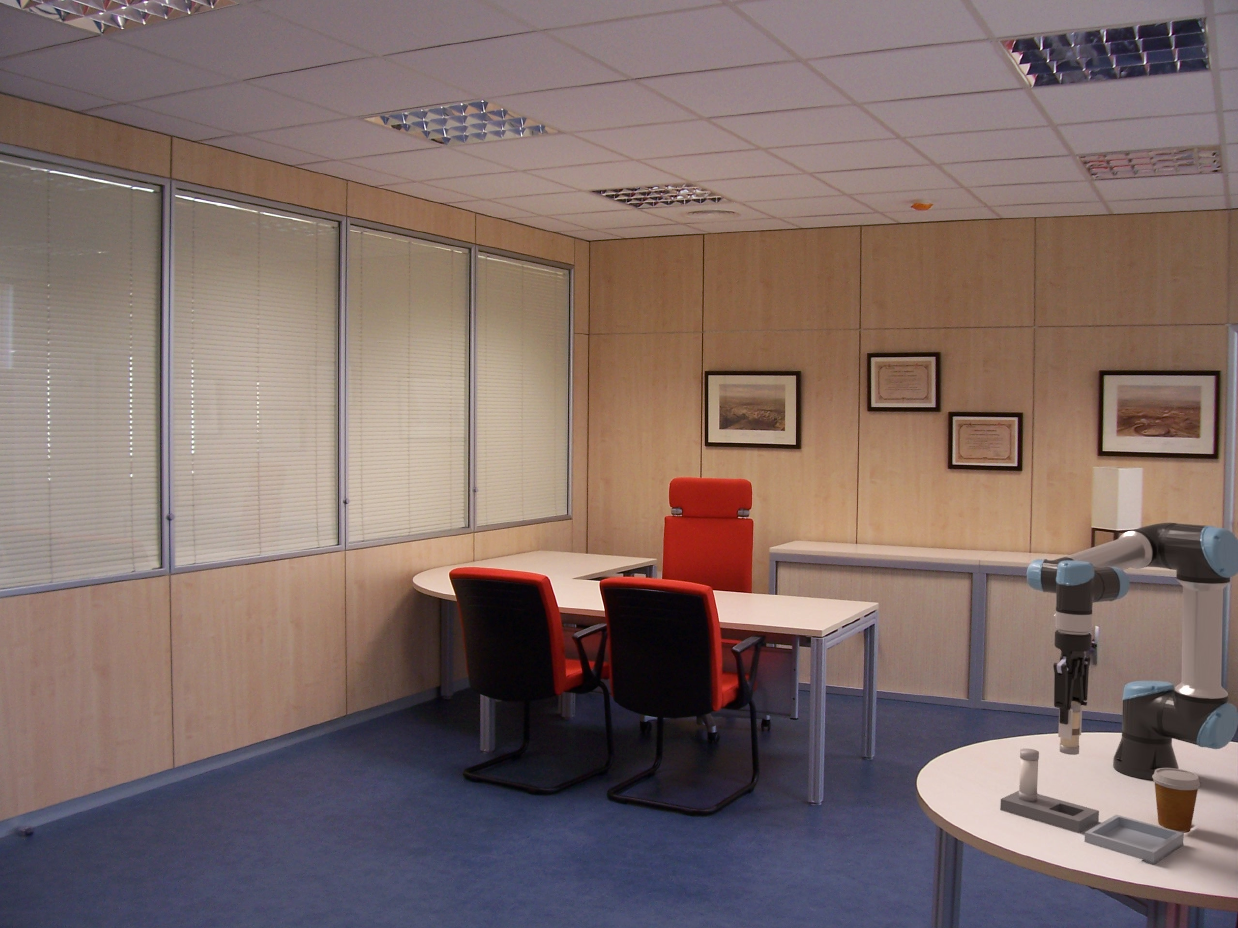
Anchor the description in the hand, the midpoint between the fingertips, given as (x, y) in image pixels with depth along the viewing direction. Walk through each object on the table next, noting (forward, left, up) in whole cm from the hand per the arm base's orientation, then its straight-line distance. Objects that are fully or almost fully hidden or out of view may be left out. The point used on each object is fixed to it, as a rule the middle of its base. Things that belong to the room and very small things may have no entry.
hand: (1069, 735), depth 239 cm
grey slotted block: (0, -4, -20) cm, 20 cm away
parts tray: (+1, +15, -20) cm, 25 cm away
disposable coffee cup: (-16, +17, -20) cm, 30 cm away
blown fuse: (0, 0, -4) cm, 4 cm away
